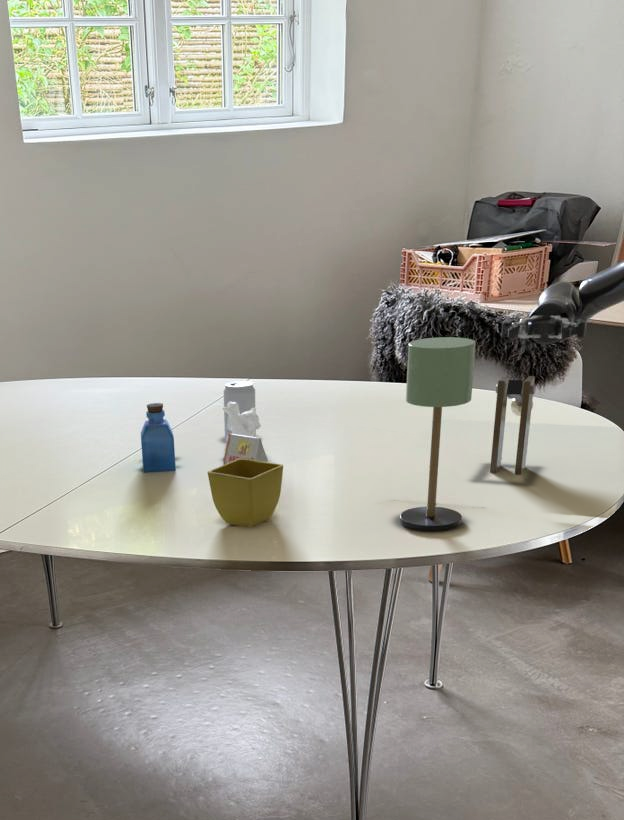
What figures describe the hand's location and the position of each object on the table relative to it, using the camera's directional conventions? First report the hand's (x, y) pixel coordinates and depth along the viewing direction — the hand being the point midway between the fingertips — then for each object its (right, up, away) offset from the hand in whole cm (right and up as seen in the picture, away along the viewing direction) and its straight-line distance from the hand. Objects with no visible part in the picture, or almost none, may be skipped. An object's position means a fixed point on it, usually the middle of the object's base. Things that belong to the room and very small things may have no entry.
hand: (538, 334), depth 169 cm
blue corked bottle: (-67, -21, +15) cm, 72 cm away
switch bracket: (-8, -27, -6) cm, 29 cm away
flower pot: (-54, -36, -17) cm, 67 cm away
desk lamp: (-27, -37, -24) cm, 52 cm away
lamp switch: (-7, -15, -8) cm, 19 cm away
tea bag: (-52, -29, -3) cm, 60 cm away
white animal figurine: (-52, -21, +14) cm, 57 cm away
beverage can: (-50, -14, +28) cm, 59 cm away
